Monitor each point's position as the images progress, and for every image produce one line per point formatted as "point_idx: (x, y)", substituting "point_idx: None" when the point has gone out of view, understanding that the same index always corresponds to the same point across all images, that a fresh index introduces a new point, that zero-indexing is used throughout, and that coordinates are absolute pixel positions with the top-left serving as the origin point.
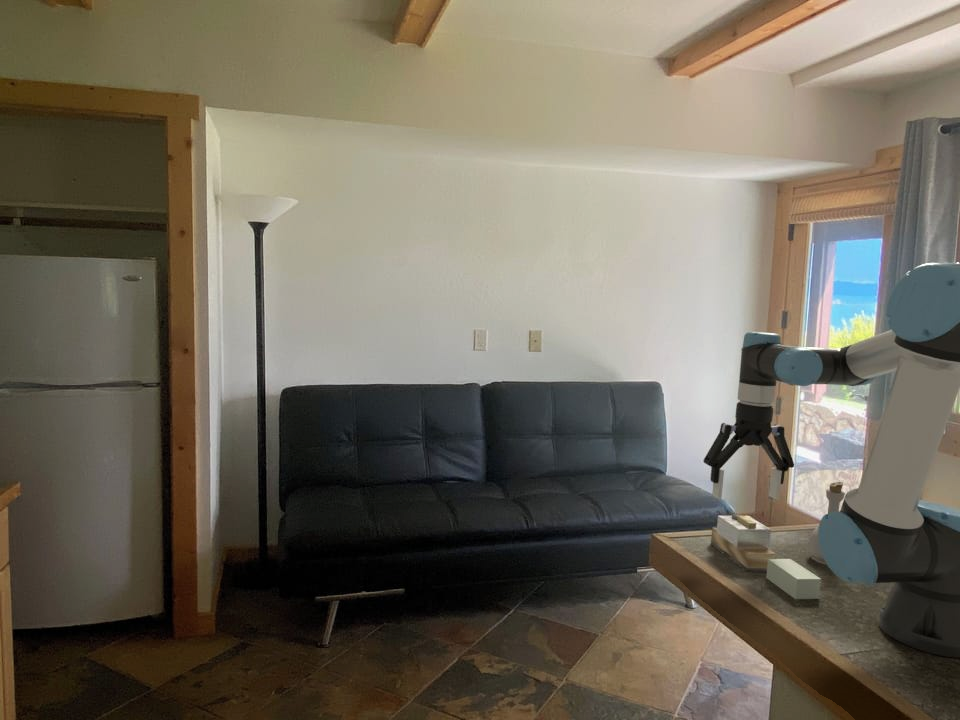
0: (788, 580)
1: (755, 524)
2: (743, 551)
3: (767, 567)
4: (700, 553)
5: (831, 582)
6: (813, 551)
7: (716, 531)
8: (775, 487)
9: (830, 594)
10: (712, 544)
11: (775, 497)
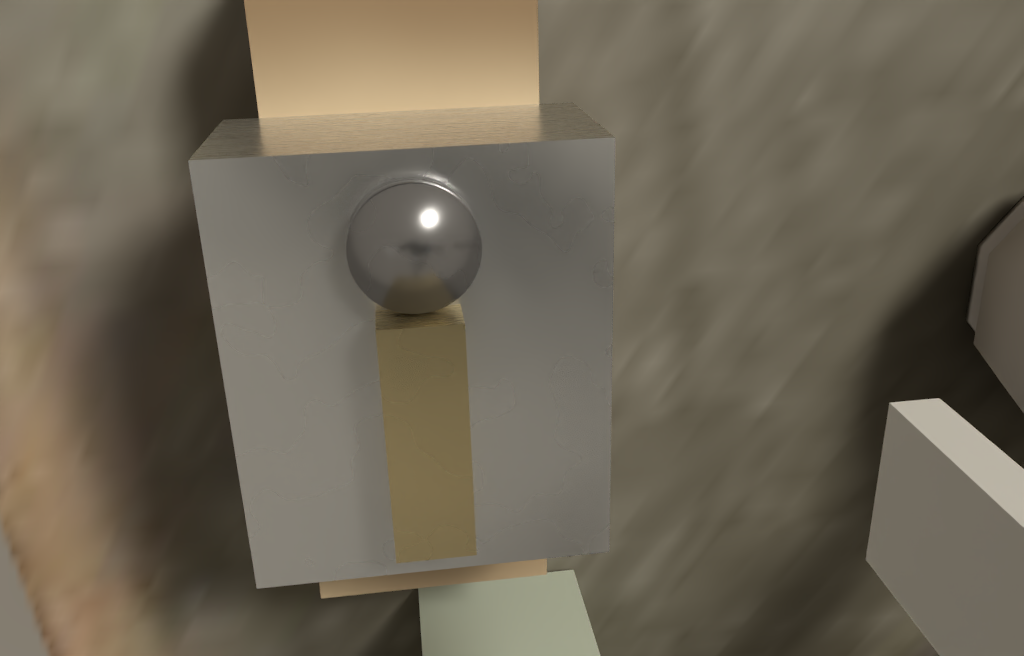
0: None
1: (467, 547)
2: None
3: (421, 635)
4: (73, 184)
5: (805, 605)
6: (992, 317)
7: (252, 44)
8: (969, 654)
9: None
10: None
11: (879, 575)
